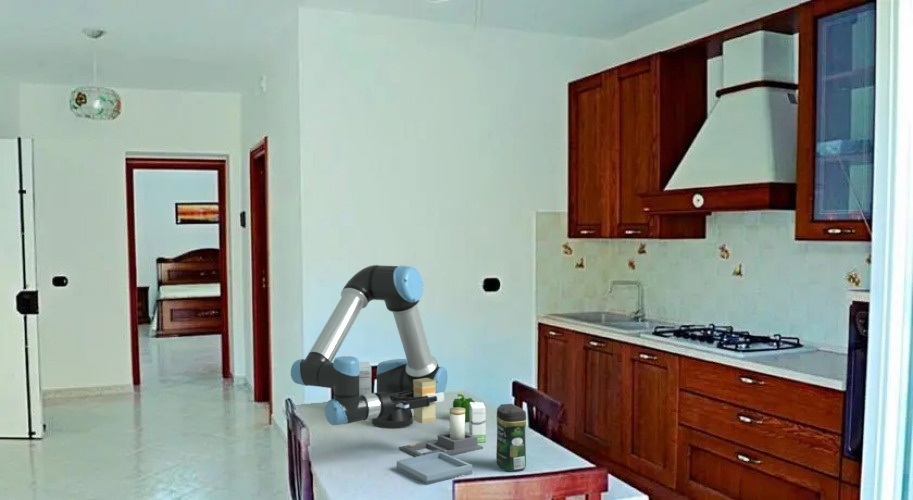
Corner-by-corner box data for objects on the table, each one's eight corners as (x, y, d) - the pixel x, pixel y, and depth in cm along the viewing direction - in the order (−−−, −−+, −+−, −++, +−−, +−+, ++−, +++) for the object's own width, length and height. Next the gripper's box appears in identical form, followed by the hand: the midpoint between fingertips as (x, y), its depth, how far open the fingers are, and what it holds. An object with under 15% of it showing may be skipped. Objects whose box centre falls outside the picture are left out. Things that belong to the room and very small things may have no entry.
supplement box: (371, 411, 280) (372, 367, 280) (337, 413, 277) (337, 368, 277) (368, 403, 293) (368, 361, 293) (336, 405, 290) (336, 362, 290)
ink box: (486, 442, 239) (486, 407, 239) (471, 442, 239) (471, 407, 239) (483, 435, 248) (483, 401, 248) (468, 435, 248) (469, 401, 247)
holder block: (399, 448, 232) (399, 439, 232) (454, 437, 245) (454, 428, 245) (425, 461, 219) (425, 451, 219) (482, 448, 233) (482, 439, 233)
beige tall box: (413, 420, 228) (413, 379, 228) (426, 417, 232) (426, 377, 231) (422, 423, 224) (422, 382, 224) (435, 421, 227) (435, 380, 227)
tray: (396, 469, 212) (396, 460, 211) (440, 459, 221) (440, 451, 221) (426, 484, 199) (426, 475, 199) (472, 473, 208) (472, 465, 208)
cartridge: (446, 444, 237) (446, 408, 236) (458, 442, 240) (459, 406, 239) (455, 448, 232) (455, 411, 232) (468, 445, 235) (468, 409, 235)
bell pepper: (478, 418, 270) (478, 392, 270) (471, 424, 262) (471, 397, 262) (457, 416, 273) (457, 390, 273) (449, 422, 265) (450, 395, 265)
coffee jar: (492, 463, 218) (493, 402, 217) (516, 461, 220) (517, 401, 220) (504, 473, 208) (505, 410, 208) (529, 470, 211) (530, 408, 211)
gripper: (360, 411, 224) (422, 400, 238) (390, 424, 210) (454, 412, 224) (360, 387, 224) (422, 378, 238) (390, 399, 210) (454, 388, 223)
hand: (438, 394), depth 231 cm, fingers closed on beige tall box, 5 cm apart
